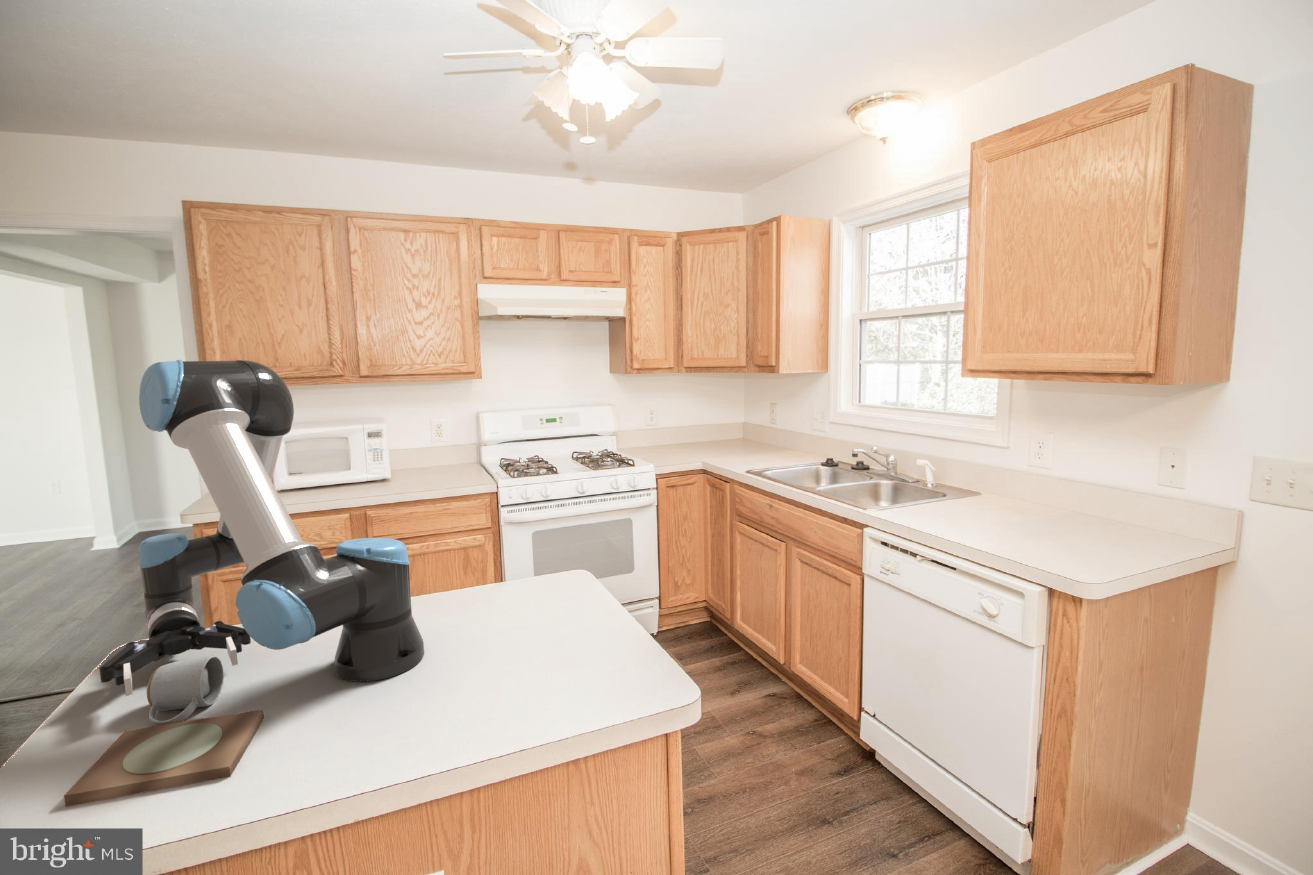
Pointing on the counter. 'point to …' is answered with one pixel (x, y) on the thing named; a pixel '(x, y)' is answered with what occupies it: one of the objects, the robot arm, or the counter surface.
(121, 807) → the counter surface
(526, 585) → the counter surface
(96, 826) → the counter surface
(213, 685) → the speckled gray mug
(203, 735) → the walnut board
